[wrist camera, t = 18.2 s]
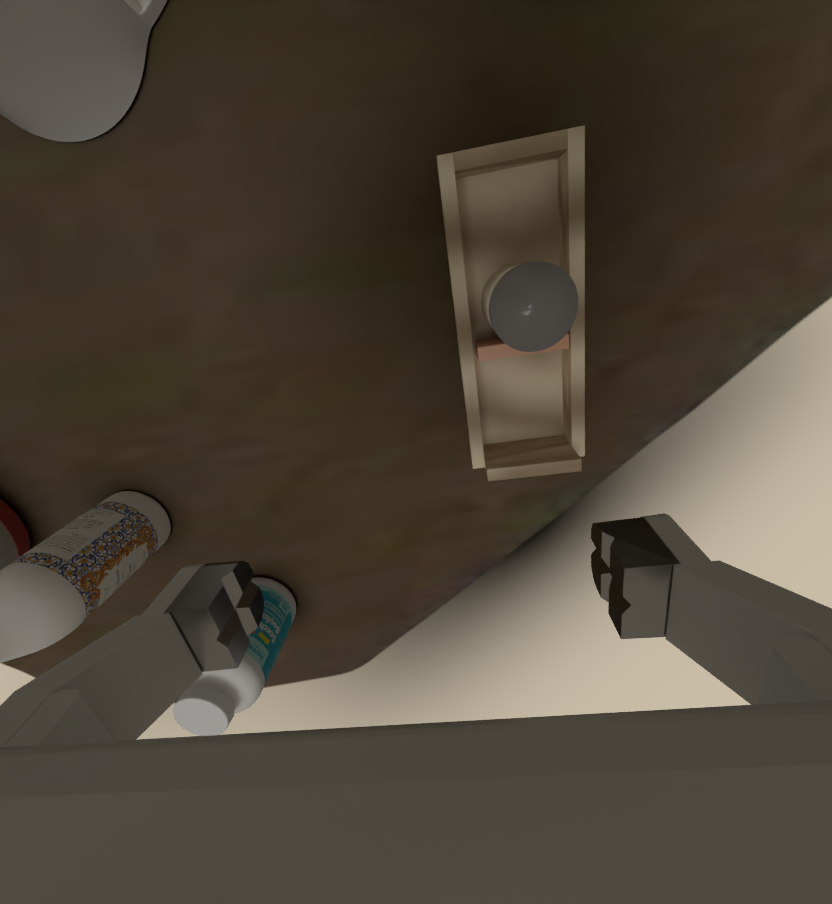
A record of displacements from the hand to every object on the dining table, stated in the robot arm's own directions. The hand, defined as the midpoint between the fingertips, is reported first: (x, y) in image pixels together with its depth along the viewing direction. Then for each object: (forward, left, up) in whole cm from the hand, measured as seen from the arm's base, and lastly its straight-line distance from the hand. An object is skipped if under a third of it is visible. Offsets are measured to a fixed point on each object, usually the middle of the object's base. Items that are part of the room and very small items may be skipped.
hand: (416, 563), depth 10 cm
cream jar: (-3, +7, -26) cm, 27 cm away
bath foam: (+12, -33, -27) cm, 44 cm away
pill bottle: (+24, -23, -27) cm, 43 cm away
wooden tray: (-2, +6, -27) cm, 28 cm away
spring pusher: (0, +6, -26) cm, 27 cm away
